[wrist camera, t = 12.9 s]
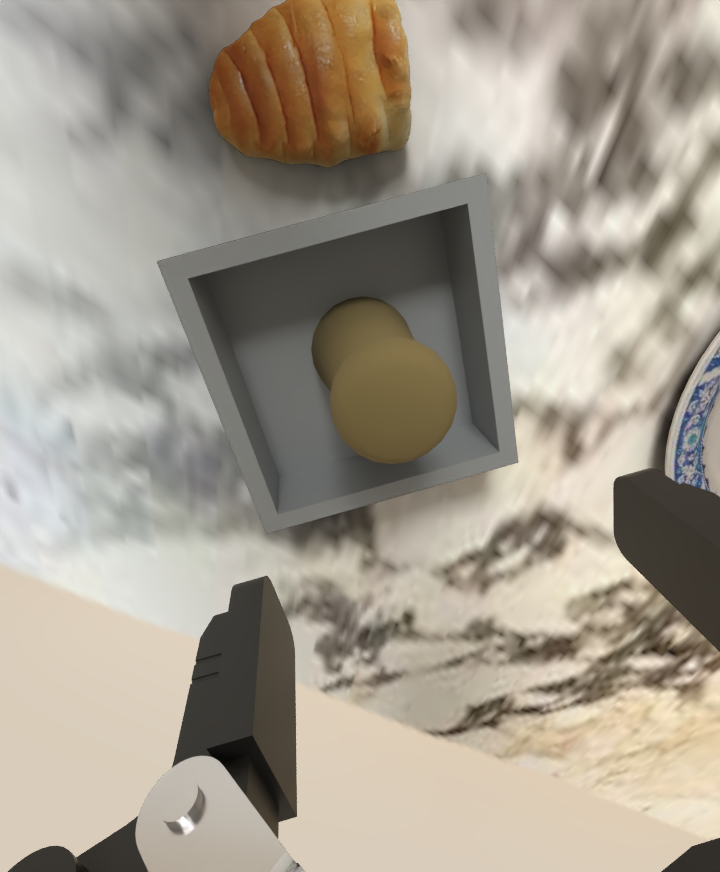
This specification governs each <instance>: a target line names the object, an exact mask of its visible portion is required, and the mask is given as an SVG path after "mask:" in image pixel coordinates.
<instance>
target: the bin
mask: <svg viewBox="0 0 720 872" xmlns="http://www.w3.org/2000/svg"><path fill="white" fill-rule="evenodd" d="M157 263H158V266H159V268H160V271H161V273H162V276H163V278H164V281H165V283H166V286H167V288H168V291H169V293H170V296H171V298H172V301H173V303H174V306H175V308H176V311H177V313H178V316H179V318H180V321H181V323H182V325H183V328H184V330H185V333H186V335H187V338H188V340H189V343H190V345H191V348H192V350H193V353H194V355H195V358H196V360H197V363H198V365H199V368H200V370H201V373H202V375H203V378H204V380H205V383H206V385H207V388H208V390H209V393H210V395H211V398H212V400H213V403H214V405H215V408H216V410H217V412H218V415H219V417H220V420H221V422H222V425H223V427H224V430H225V432H226V435H227V437H228V440H229V442H230V445H231V447H232V450H233V452H234V455H235V457H236V460H237V462H238V465H239V467H240V470H241V472H242V475H243V477H244V480H245V482H246V485H247V487H248V490H249V492H250V495H251V497H252V499H253V502H254V504H255V507H256V509H257V512H258V514H259V517H260V519H261V522H262V524H263V527H264V529H265V532H266V534H267V533H270V532H274V531H277V530H281V529H285V528H288V527H292V526H295V525H299V524H302V523H306V522H309V521H313V520H316V519H320V518H324V517H327V516H331V515H334V514H338V513H341V512H345V511H348V510H352V509H355V508H359V507H363V506H366V505H370V504H373V503H377V502H380V501H384V500H387V499H391V498H394V497H398V496H401V495H405V494H409V493H412V492H416V491H419V490H423V489H426V488H430V487H433V486H437V485H440V484H444V483H448V482H451V481H455V480H458V479H462V478H465V477H469V476H472V475H476V474H479V473H483V472H487V471H490V470H494V469H497V468H501V467H504V466H508V465H511V464H515V463H518V455H517V446H516V437H515V428H514V419H513V410H512V401H511V392H510V383H509V374H508V365H507V356H506V347H505V338H504V329H503V320H502V311H501V302H500V293H499V284H498V275H497V266H496V257H495V248H494V239H493V230H492V221H491V212H490V203H489V194H488V185H487V176H486V173H485V174H481V175H477V176H474V177H470V178H466V179H462V180H459V181H455V182H451V183H447V184H444V185H440V186H436V187H432V188H429V189H425V190H421V191H417V192H414V193H410V194H406V195H403V196H399V197H395V198H391V199H388V200H384V201H380V202H376V203H373V204H369V205H365V206H361V207H358V208H354V209H350V210H346V211H343V212H339V213H335V214H332V215H328V216H324V217H320V218H317V219H313V220H309V221H305V222H302V223H298V224H294V225H290V226H287V227H283V228H279V229H275V230H272V231H268V232H264V233H260V234H257V235H253V236H249V237H246V238H242V239H238V240H234V241H231V242H227V243H223V244H219V245H216V246H212V247H208V248H204V249H201V250H197V251H193V252H189V253H186V254H182V255H178V256H175V257H171V258H167V259H163V260H160V261H157ZM358 297H370V298H375V299H380V300H382V301H384V302H386V303H388V304H389V305H391V306H393V307H395V308H396V309H397V311H398V312H399V313H400V314H401V315H402V316H403V318H404V319H405V320H406V322H407V324H408V327H409V329H410V331H411V333H412V336H413V338H414V340H416V341H418V342H420V343H421V344H423V345H425V346H427V347H428V348H430V349H432V350H433V351H435V352H436V353H437V354H438V355H439V357H440V358H441V359H442V360H443V361H444V362H445V363H446V365H447V366H448V367H449V369H450V372H451V374H452V377H453V380H454V382H455V385H456V389H457V410H456V414H455V417H454V420H453V424H452V426H451V428H450V429H449V431H448V432H447V434H446V435H445V437H444V439H443V440H442V441H441V442H440V443H439V444H438V445H437V446H436V447H434V448H433V449H432V450H431V451H430V452H429V453H427V454H425V455H423V456H421V457H419V458H416V459H414V460H412V461H409V462H403V463H397V464H388V463H379V462H374V461H372V460H369V459H367V458H365V457H363V456H361V455H359V454H357V453H356V452H355V451H354V450H353V449H352V448H351V447H350V446H349V445H348V444H347V443H346V442H344V441H343V440H342V439H341V437H340V435H339V433H338V431H337V429H336V427H335V425H334V424H333V419H332V413H331V406H330V400H329V399H330V393H331V392H330V390H329V389H328V388H327V386H326V385H325V384H324V382H323V381H322V380H321V378H320V376H319V374H318V372H317V370H316V369H315V367H314V364H313V358H312V352H311V346H312V340H313V334H314V331H315V329H316V327H317V325H318V323H319V321H320V320H321V318H322V317H323V316H324V315H325V314H326V313H327V312H328V311H329V310H330V309H331V308H332V307H333V306H335V305H337V304H339V303H341V302H343V301H345V300H347V299H351V298H358Z"/></svg>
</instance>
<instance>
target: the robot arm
mask: <svg viewBox="0 0 720 872" xmlns="http://www.w3.org/2000/svg"><path fill="white" fill-rule="evenodd" d="M614 537H615V540H616V543H617V545H618V548H619V549H620V551H621V553H622V554H623V556H624V557H625V558H626V559H627V560H628V561H629V562H630V563H631V564H632V565H633V566H634V567H635V568H636V569H637V570H638V571H639V572H640V573H641V574H642V575H643V576H644V577H645V578H646V579H647V580H648V581H649V582H650V583H651V584H652V585H653V586H654V587H655V588H656V589H657V590H658V591H659V592H660V593H661V594H662V595H663V596H664V597H665V598H666V599H667V600H668V601H669V602H670V603H671V604H672V605H673V606H674V607H675V608H676V609H677V610H678V611H679V612H680V613H681V614H682V615H683V616H684V617H685V618H686V619H687V620H688V621H689V622H690V623H691V624H692V625H693V626H694V627H695V628H696V629H697V630H698V631H699V632H700V633H701V634H702V635H703V636H704V637H705V638H706V639H707V640H708V641H709V642H710V643H711V644H712V645H713V646H714V647H715V648H716V649H717V650H718V651H719V652H720V497H719V496H718V495H716V494H715V493H713V492H710V491H707V490H704V489H701V488H698V487H695V486H692V485H690V484H687V483H682V484H678V483H677V482H675V481H674V480H672V479H671V478H669V477H668V476H666V475H665V474H663V473H662V472H660V471H659V470H657V469H654V468H648V469H645V470H641V471H638V472H634V473H631V474H627V475H624V476H620V477H618V478H616V479H615V481H614ZM295 706H296V703H295V648H294V641H293V636H292V632H291V628H290V625H289V623H288V620H287V618H286V615H285V613H284V611H283V608H282V606H281V604H280V601H279V599H278V596H277V594H276V592H275V589H274V587H273V585H272V582H271V580H270V579H269V577H268V576H264V577H261V578H257V579H254V580H250V581H247V582H243V583H240V584H236V585H234V586H233V588H232V591H231V597H230V604H229V610H228V612H226V613H222V614H219V615H215V616H214V617H213V618H212V620H211V622H210V623H209V625H208V627H207V628H206V630H205V631H204V633H203V635H202V636H201V638H200V643H199V648H198V652H197V657H196V665H195V666H194V671H193V675H192V684H191V685H190V689H189V694H188V698H187V703H186V707H185V712H184V717H183V721H182V726H181V731H180V735H179V740H178V744H177V749H176V754H175V758H174V762H173V766H172V768H171V769H170V770H169V771H167V772H166V773H165V774H164V775H163V776H162V777H161V778H160V779H159V780H158V781H157V783H156V784H155V785H154V787H153V788H152V789H151V791H150V792H149V794H148V795H147V797H146V799H145V801H144V803H143V805H142V807H141V810H140V812H139V815H138V816H137V817H136V818H135V819H134V820H132V821H131V822H130V823H128V824H127V825H126V826H124V827H123V828H121V829H120V830H118V831H116V832H115V833H113V834H112V835H110V836H109V837H107V838H106V839H104V840H103V841H101V842H99V843H98V844H96V845H95V846H93V847H92V848H90V849H89V850H87V851H86V852H84V853H83V854H81V855H79V856H78V857H75V856H74V855H73V854H72V853H71V852H70V851H69V850H67V849H66V848H64V847H60V846H49V847H46V848H42V849H40V850H38V851H36V852H33V853H32V854H30V855H28V856H27V857H25V858H24V859H22V860H21V861H20V862H18V863H17V864H16V865H15V866H13V868H11V869H10V870H9V871H8V872H305V871H304V869H303V868H302V867H301V866H300V865H299V864H298V863H296V862H295V861H294V860H293V859H292V857H291V856H290V855H289V853H288V852H287V851H286V849H285V848H284V847H283V845H282V844H281V843H280V842H279V840H278V822H280V821H284V820H287V819H290V818H294V817H297V785H296V708H295ZM662 872H720V838H718V839H715V840H711V841H708V842H705V843H701V844H698V845H695V846H692V847H691V848H690V849H688V850H687V851H686V852H685V853H684V854H682V855H681V856H680V857H679V858H678V859H676V860H675V861H674V862H673V863H671V864H670V865H669V866H668V867H667V868H665V869H664V870H663V871H662Z"/></svg>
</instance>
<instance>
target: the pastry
mask: <svg viewBox="0 0 720 872" xmlns="http://www.w3.org/2000/svg"><path fill="white" fill-rule="evenodd" d="M209 97H210V105H211V108H212V112H213V116H214V122H215V126H216V128H217V131H218V133H219V134H220V135H221V136H222V137H223V138H224V139H225V140H226V141H228V142H229V143H230V144H232V145H233V146H234V147H235V148H237V149H238V150H239V151H240V152H241V153H242V154H244V155H245V156H248V157H257V158H268V159H273V160H276V161H279V162H282V163H285V164H301V163H307V164H316V165H320V166H322V167H333V166H336V165H337V164H339V163H340V162H341V161H343V160H345V159H354V158H358V157H361V156H365V155H368V154H375V153H379V152H382V151H386V150H389V151H398V150H400V149H402V148H403V147H404V146H405V144H406V143H407V141H408V139H409V135H410V129H411V110H410V99H411V86H410V67H409V59H408V45H407V39H406V35H405V33H404V30H403V28H402V25H401V15H400V12H399V9H398V7H397V4H396V2H395V0H286V1H285V2H284V3H282V4H281V5H278V6H275V7H273V8H271V9H270V10H269V11H268V12H267V13H266V14H265V15H264V16H263V17H262V18H261V19H259V20H257V21H255V22H253V23H252V24H251V26H250V28H249V29H248V30H247V31H246V32H245V33H244V34H243V35H242V36H241V37H240V38H239V39H238V40H237V41H235V42H234V43H233V44H231V45H230V46H227V47H225V48H223V49H222V50H221V52H220V53H219V55H218V57H217V60H216V62H215V64H214V68H213V72H212V75H211V79H210V84H209Z"/></svg>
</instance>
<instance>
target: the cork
mask: <svg viewBox="0 0 720 872" xmlns="http://www.w3.org/2000/svg"><path fill="white" fill-rule="evenodd" d="M311 352H312V358H313V364H314V367H315V369H316V370H317V372H318V374H319V376H320V378H321V380H322V381H323V382H324V384H325V385H326V386H327V388H328V389H329V390H330V392H331V393H330V399H329V400H330V406H331V413H332V419H333V424H334V425H335V427H336V429H337V431H338V433H339V435H340V437H341V439H342V440H343V441H344V442H346V443H347V444H348V445H349V446H350V447H351V448H352V449H353V450H354V451H355V452H356V453H357V454H359V455H361V456H363V457H365V458H367V459H369V460H372V461H374V462H379V463H388V464H397V463H403V462H409V461H412V460H414V459H416V458H419V457H421V456H423V455H425V454H427V453H429V452H430V451H431V450H432V449H433V448H434V447H436V446H437V445H438V444H439V443H440V442H441V441H442V440H443V439H444V437H445V435H446V434H447V432H448V431H449V429H450V428H451V426H452V424H453V420H454V417H455V414H456V410H457V389H456V385H455V382H454V380H453V377H452V374H451V372H450V369H449V367H448V366H447V365H446V363H445V362H444V361H443V360H442V359H441V358H440V357H439V355H438V354H437V353H436V352H435V351H433V350H432V349H430V348H428V347H427V346H425V345H423V344H421V343H420V342H418V341H416V340H414V338H413V336H412V333H411V331H410V329H409V327H408V324H407V322H406V320H405V319H404V318H403V316H402V315H401V314H400V313H399V312H398V311H397V309H396V308H395V307H393V306H391V305H389V304H388V303H386V302H384V301H382V300H380V299H375V298H370V297H358V298H351V299H347V300H345V301H343V302H341V303H339V304H337V305H335V306H333V307H332V308H331V309H330V310H329V311H328V312H327V313H326V314H325V315H324V316H323V317H322V318H321V320H320V321H319V323H318V325H317V327H316V329H315V331H314V334H313V340H312V346H311Z"/></svg>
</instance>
